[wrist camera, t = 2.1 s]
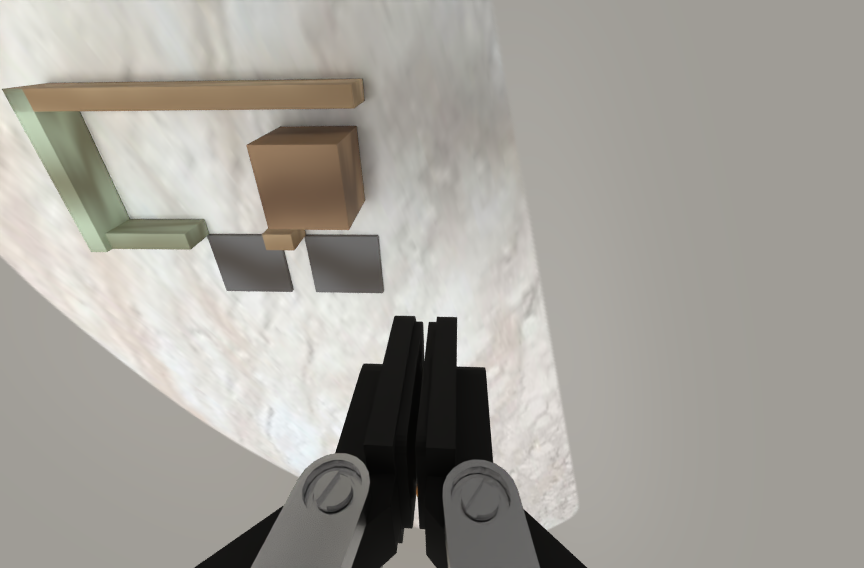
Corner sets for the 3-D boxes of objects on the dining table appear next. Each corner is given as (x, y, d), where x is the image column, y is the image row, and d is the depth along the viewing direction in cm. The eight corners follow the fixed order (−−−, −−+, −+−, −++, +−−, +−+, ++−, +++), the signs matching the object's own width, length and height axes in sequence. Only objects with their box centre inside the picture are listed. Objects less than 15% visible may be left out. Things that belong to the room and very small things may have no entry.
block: (280, 126, 26) (246, 145, 21) (356, 125, 25) (337, 144, 21) (296, 199, 28) (268, 229, 24) (365, 200, 28) (349, 229, 24)
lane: (48, 83, 25) (1, 88, 22) (362, 78, 24) (351, 84, 21) (147, 287, 33) (122, 308, 31) (383, 291, 32) (377, 313, 29)
